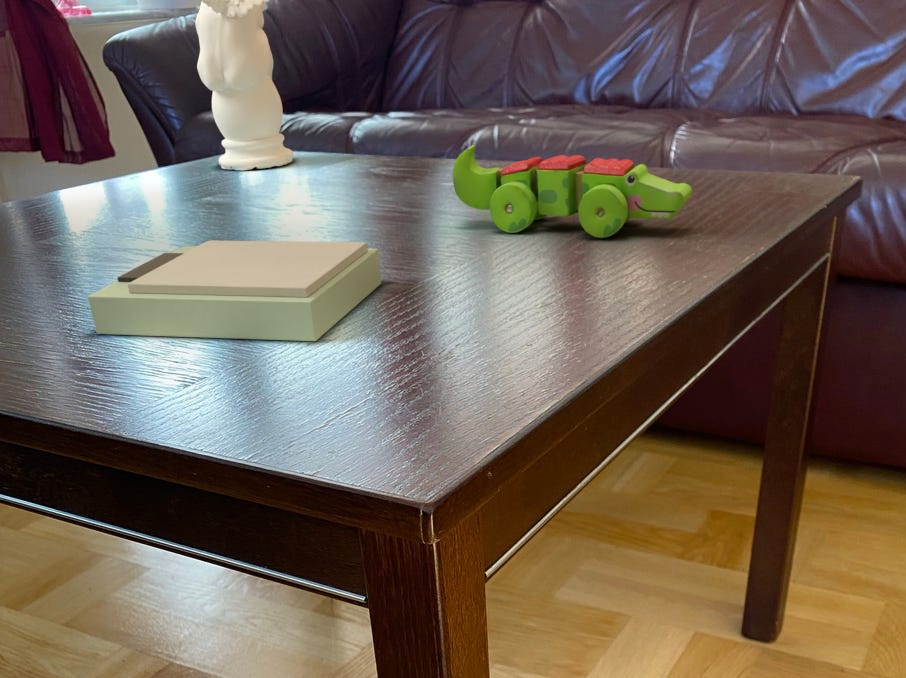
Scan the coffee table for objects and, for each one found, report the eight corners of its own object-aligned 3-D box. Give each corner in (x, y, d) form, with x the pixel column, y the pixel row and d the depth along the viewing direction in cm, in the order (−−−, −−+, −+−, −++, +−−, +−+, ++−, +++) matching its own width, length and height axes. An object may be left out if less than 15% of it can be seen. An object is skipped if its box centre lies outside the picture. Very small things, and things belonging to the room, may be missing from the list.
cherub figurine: (264, 154, 124) (232, -66, 111) (340, 160, 118) (315, -72, 105) (188, 171, 116) (143, -64, 103) (265, 179, 110) (228, -70, 97)
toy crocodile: (696, 225, 83) (702, 142, 80) (673, 244, 78) (679, 157, 75) (477, 213, 90) (474, 138, 87) (444, 230, 85) (439, 151, 82)
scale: (96, 334, 65) (84, 286, 63) (189, 279, 76) (181, 237, 74) (315, 341, 62) (309, 291, 60) (381, 283, 72) (377, 239, 71)
